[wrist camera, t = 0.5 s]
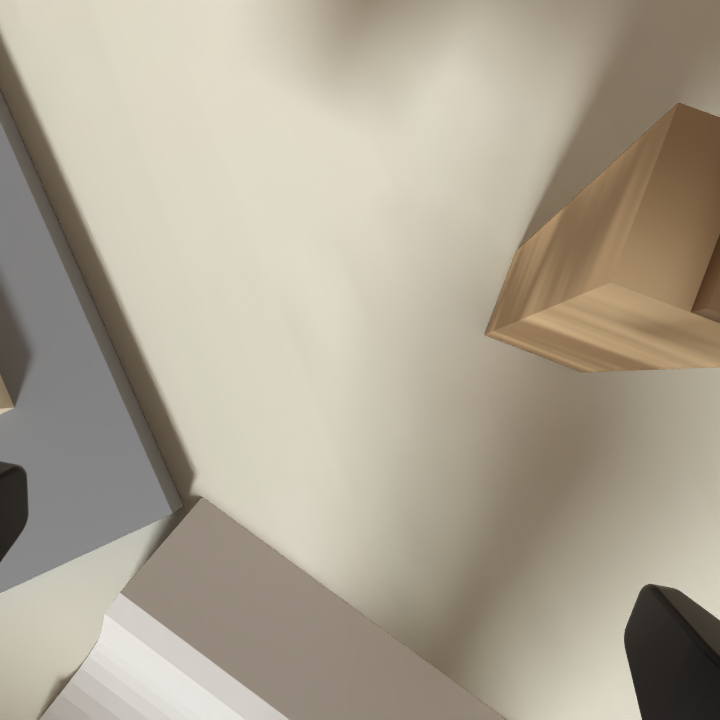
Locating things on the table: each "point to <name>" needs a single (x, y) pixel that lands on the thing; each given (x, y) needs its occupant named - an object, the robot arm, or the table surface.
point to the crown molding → (247, 644)
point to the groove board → (63, 391)
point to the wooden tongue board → (628, 261)
